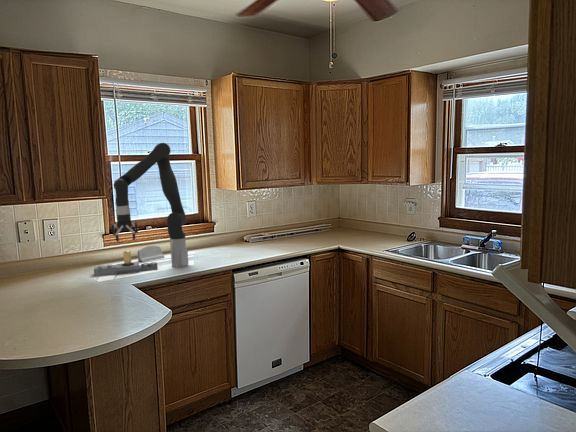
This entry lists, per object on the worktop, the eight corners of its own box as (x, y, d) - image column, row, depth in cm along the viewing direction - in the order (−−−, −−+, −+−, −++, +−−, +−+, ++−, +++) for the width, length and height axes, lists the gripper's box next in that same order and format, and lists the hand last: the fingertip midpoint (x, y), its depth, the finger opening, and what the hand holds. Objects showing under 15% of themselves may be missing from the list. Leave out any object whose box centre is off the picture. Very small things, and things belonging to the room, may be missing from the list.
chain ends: (157, 266, 269) (156, 258, 268) (158, 269, 259) (157, 261, 258) (95, 272, 257) (94, 264, 256) (94, 277, 247) (93, 268, 247)
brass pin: (133, 270, 259) (132, 250, 258) (128, 272, 256) (126, 252, 254) (128, 270, 261) (126, 250, 260) (123, 271, 258) (121, 251, 256)
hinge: (141, 262, 280) (138, 247, 281) (138, 263, 284) (135, 249, 285) (165, 257, 292) (161, 243, 293) (161, 259, 295) (158, 245, 296)
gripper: (136, 211, 260) (138, 238, 262) (110, 213, 255) (113, 241, 257) (136, 213, 253) (138, 240, 255) (110, 215, 248) (112, 243, 250)
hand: (125, 240), depth 256 cm, fingers open, 8 cm apart
